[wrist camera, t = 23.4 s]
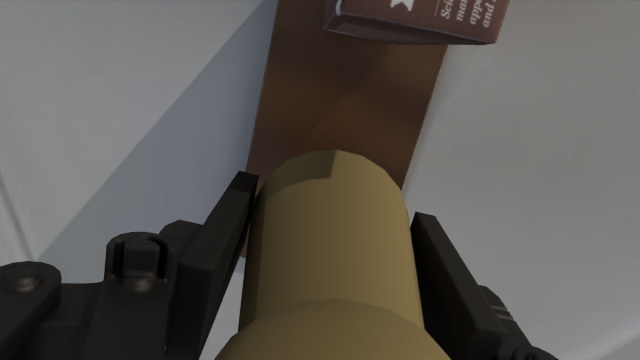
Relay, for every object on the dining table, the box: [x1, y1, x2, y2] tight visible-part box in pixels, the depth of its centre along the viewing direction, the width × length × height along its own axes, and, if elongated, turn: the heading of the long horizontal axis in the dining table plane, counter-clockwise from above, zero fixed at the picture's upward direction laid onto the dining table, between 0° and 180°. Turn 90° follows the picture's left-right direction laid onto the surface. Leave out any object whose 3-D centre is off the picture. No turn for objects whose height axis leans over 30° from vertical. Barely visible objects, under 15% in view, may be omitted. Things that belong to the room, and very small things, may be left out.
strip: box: [240, 0, 449, 257], centre depth 22 cm, size 24×9×1 cm, turn 166°
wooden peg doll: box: [214, 150, 451, 360], centre depth 11 cm, size 6×6×11 cm
